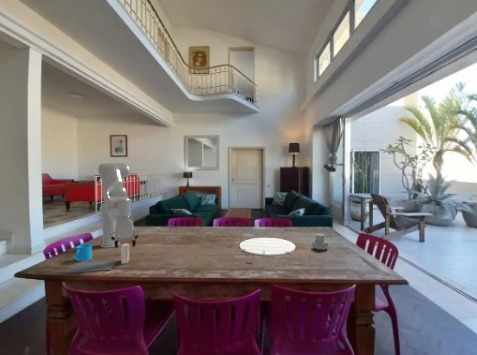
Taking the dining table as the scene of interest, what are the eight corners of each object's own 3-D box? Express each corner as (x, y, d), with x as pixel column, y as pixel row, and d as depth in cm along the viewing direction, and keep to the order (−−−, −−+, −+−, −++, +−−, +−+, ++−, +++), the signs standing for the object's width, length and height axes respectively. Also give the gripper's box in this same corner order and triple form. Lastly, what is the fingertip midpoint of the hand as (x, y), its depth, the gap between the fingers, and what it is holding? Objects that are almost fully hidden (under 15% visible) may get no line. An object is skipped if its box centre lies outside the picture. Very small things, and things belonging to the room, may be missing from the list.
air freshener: (319, 252, 179) (319, 237, 179) (309, 248, 186) (309, 234, 186) (330, 249, 185) (330, 234, 185) (320, 246, 192) (320, 232, 192)
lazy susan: (295, 258, 168) (295, 252, 168) (234, 254, 176) (233, 249, 176) (295, 240, 207) (295, 236, 207) (244, 238, 215) (244, 233, 215)
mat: (77, 264, 160) (77, 263, 160) (117, 261, 164) (117, 260, 164) (67, 273, 147) (66, 272, 147) (110, 270, 150) (110, 269, 150)
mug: (82, 256, 174) (82, 243, 173) (94, 256, 173) (94, 244, 172) (69, 263, 162) (68, 249, 161) (82, 263, 161) (81, 250, 160)
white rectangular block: (124, 259, 167) (123, 243, 167) (129, 259, 168) (129, 243, 167) (121, 263, 160) (120, 247, 160) (126, 263, 161) (126, 246, 160)
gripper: (140, 216, 167) (141, 244, 168) (110, 218, 165) (111, 246, 165) (138, 219, 160) (139, 247, 161) (107, 220, 157) (108, 249, 158)
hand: (125, 247), depth 163 cm, fingers open, 9 cm apart
